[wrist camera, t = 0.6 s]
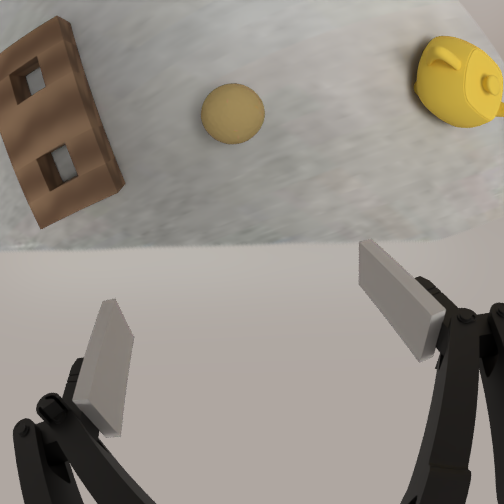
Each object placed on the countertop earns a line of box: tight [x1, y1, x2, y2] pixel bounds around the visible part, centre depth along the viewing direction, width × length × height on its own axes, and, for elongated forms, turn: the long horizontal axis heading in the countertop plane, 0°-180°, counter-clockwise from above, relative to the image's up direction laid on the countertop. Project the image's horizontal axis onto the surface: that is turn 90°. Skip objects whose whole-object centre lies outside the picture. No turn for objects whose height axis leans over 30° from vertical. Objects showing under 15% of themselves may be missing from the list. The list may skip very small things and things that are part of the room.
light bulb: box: [201, 84, 265, 144], centre depth 32 cm, size 6×6×10 cm
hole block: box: [0, 16, 126, 229], centre depth 30 cm, size 24×12×4 cm, turn 17°
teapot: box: [414, 36, 504, 128], centre depth 32 cm, size 13×20×12 cm
